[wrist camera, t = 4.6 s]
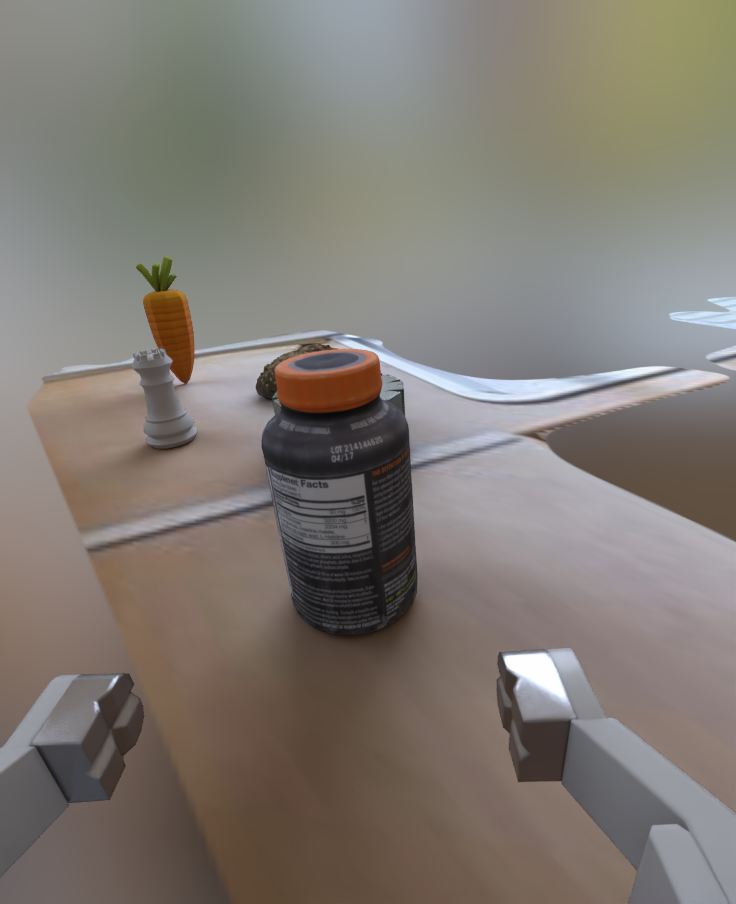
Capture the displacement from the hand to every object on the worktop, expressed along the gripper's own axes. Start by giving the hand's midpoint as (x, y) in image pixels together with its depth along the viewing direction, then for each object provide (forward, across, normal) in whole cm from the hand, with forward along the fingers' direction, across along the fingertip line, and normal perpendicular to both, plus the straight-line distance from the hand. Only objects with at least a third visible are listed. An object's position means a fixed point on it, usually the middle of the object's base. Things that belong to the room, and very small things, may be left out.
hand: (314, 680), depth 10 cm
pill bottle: (+10, 0, +7) cm, 12 cm away
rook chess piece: (+32, +17, +7) cm, 37 cm away
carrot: (+51, +23, +7) cm, 57 cm away
